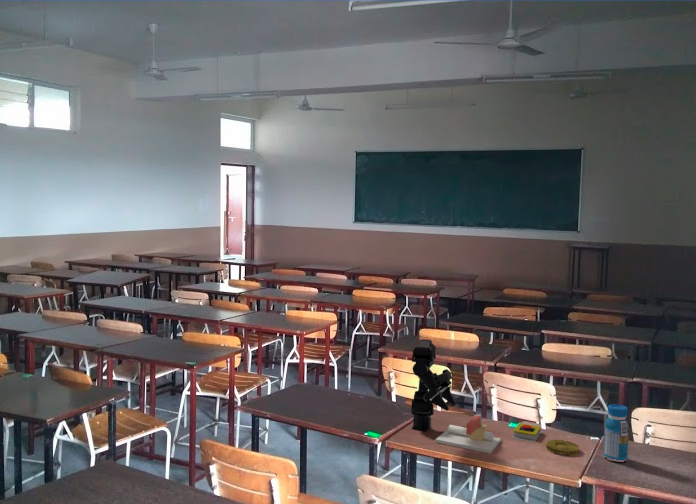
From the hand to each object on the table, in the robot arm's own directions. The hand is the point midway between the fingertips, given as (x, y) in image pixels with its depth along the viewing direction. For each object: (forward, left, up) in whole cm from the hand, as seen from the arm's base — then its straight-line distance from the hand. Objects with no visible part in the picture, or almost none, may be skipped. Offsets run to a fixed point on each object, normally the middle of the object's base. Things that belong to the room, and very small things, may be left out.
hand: (451, 407), depth 249 cm
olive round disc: (+40, +14, -14) cm, 45 cm away
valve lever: (+9, 0, -7) cm, 12 cm away
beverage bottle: (+59, +15, -14) cm, 63 cm away
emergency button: (+25, +24, -14) cm, 37 cm away
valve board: (+6, +3, -14) cm, 15 cm away
